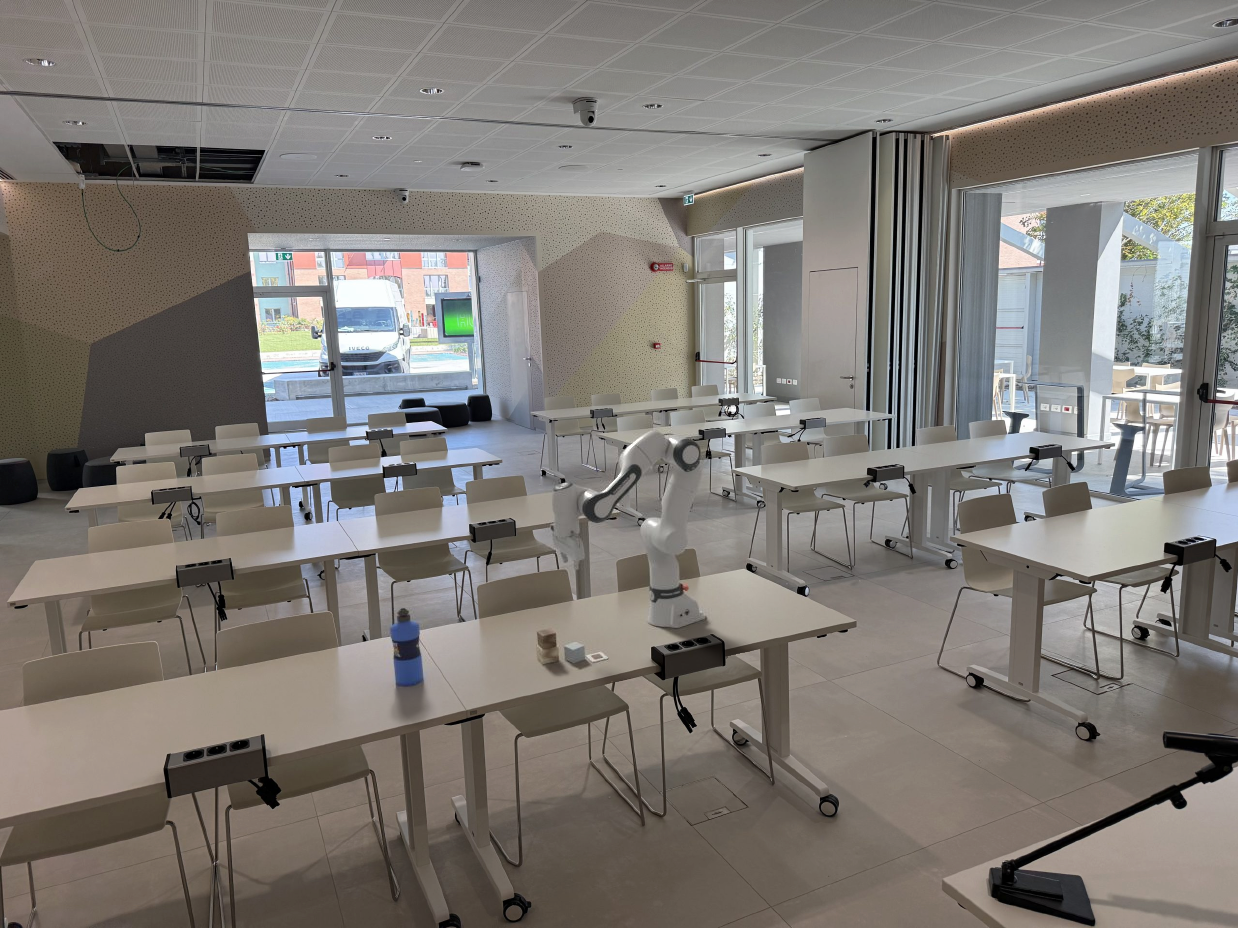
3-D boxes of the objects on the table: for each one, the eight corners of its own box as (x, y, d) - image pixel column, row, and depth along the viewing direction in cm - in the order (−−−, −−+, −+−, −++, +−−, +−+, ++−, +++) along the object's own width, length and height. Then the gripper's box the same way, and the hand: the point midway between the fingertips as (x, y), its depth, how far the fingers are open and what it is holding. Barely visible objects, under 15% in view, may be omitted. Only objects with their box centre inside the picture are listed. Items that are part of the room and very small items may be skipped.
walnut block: (551, 641, 296) (550, 628, 295) (556, 646, 292) (555, 632, 291) (537, 644, 294) (536, 631, 293) (543, 649, 290) (542, 636, 289)
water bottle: (399, 688, 276) (391, 616, 271) (392, 678, 284) (385, 607, 279) (427, 681, 280) (420, 610, 275) (419, 671, 288) (413, 601, 283)
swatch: (601, 652, 297) (600, 651, 297) (608, 658, 292) (608, 657, 292) (585, 656, 295) (585, 654, 295) (592, 662, 289) (592, 661, 289)
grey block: (576, 654, 296) (575, 641, 295) (585, 658, 293) (584, 645, 292) (564, 659, 293) (564, 645, 292) (573, 663, 289) (572, 649, 288)
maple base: (553, 654, 298) (552, 640, 297) (559, 660, 292) (558, 646, 291) (537, 657, 295) (536, 644, 294) (542, 664, 290) (541, 650, 289)
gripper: (587, 533, 292) (590, 571, 295) (564, 520, 310) (567, 556, 313) (570, 537, 289) (574, 575, 292) (548, 524, 307) (551, 560, 310)
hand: (570, 565), depth 302 cm, fingers open, 8 cm apart
